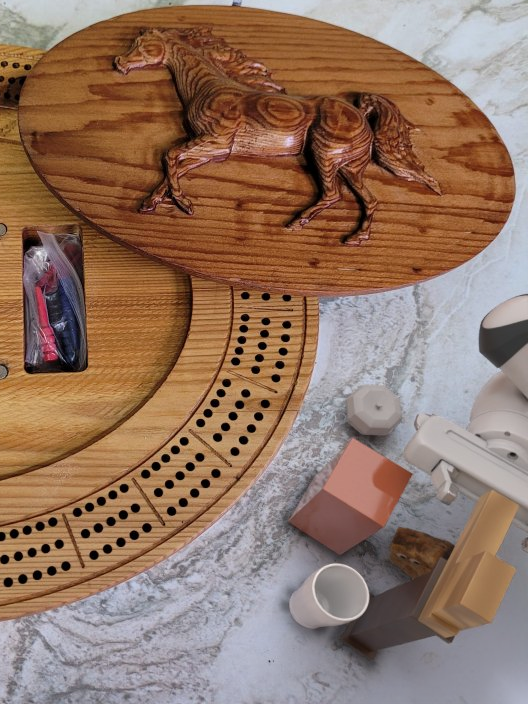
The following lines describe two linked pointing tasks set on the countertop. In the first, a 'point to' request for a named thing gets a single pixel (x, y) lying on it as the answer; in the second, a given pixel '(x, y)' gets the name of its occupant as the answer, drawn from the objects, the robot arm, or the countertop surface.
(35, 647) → the countertop surface
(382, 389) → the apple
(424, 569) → the brown rounded lump
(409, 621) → the walnut shelf
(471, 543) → the tan stepped wooden block
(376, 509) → the terracotta block
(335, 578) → the white cup
